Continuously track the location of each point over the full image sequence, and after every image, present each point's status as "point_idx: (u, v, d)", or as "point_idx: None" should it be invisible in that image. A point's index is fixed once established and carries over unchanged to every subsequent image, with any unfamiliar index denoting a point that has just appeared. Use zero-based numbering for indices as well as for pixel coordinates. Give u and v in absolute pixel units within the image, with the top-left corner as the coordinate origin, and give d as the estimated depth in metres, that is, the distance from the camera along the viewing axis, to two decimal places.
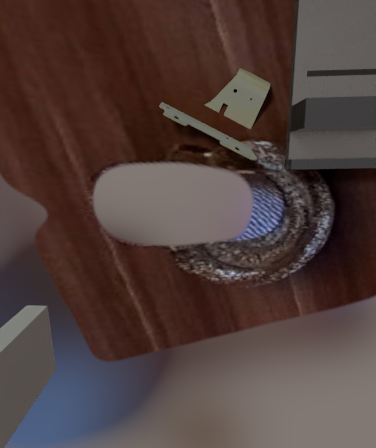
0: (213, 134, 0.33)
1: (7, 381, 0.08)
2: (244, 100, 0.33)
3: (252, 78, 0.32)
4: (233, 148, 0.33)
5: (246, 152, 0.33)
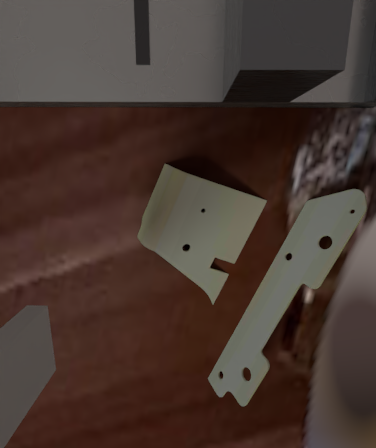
0: (284, 293, 0.14)
1: (7, 381, 0.08)
2: (206, 224, 0.14)
3: (159, 213, 0.13)
4: (328, 255, 0.13)
5: (335, 217, 0.13)
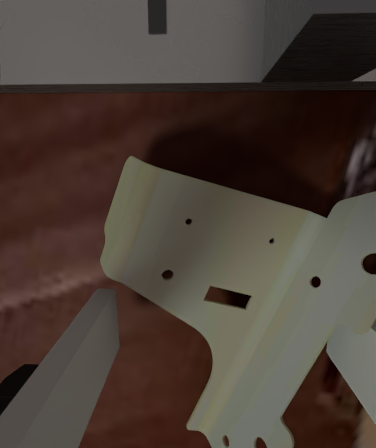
0: (311, 337, 0.10)
1: (97, 350, 0.09)
2: (194, 240, 0.10)
3: (124, 229, 0.09)
4: None
5: None
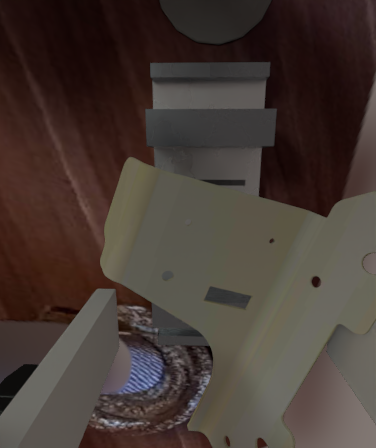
0: (312, 337, 0.10)
1: (96, 349, 0.09)
2: (194, 241, 0.10)
3: (124, 230, 0.09)
4: None
5: None
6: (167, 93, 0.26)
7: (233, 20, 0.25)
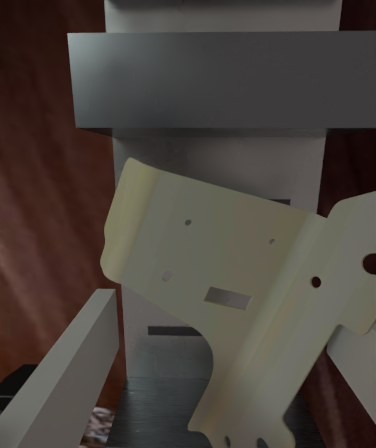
0: (312, 337, 0.10)
1: (96, 350, 0.09)
2: (194, 241, 0.10)
3: (124, 231, 0.09)
4: None
5: None
6: (135, 22, 0.13)
7: None
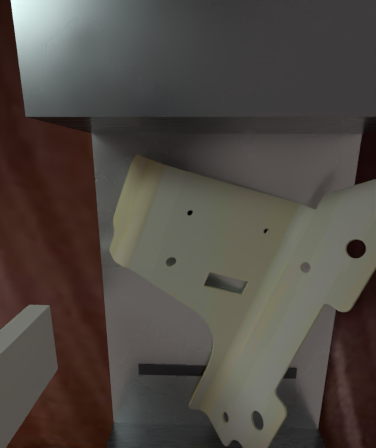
0: (302, 317, 0.11)
1: (10, 380, 0.08)
2: (195, 230, 0.11)
3: (132, 220, 0.10)
4: (361, 266, 0.09)
5: (369, 213, 0.09)
6: None
7: None
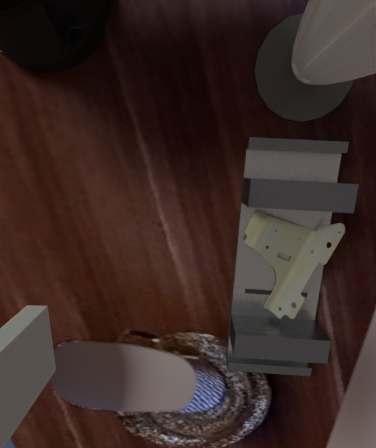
0: (311, 267, 0.32)
1: (7, 381, 0.08)
2: (276, 237, 0.32)
3: (257, 232, 0.31)
4: (330, 250, 0.31)
5: (333, 234, 0.31)
6: (257, 159, 0.31)
7: (316, 104, 0.31)
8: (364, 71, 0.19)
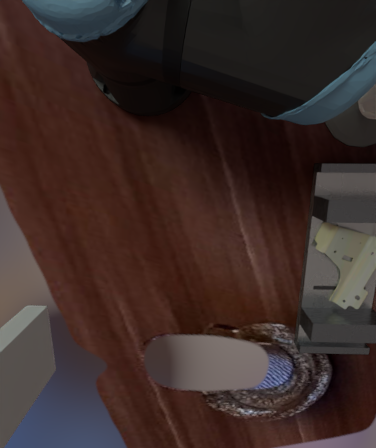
0: (372, 266, 0.39)
1: (7, 381, 0.08)
2: (342, 243, 0.39)
3: (328, 240, 0.38)
4: None
5: None
6: (326, 180, 0.38)
7: (375, 132, 0.37)
8: None
